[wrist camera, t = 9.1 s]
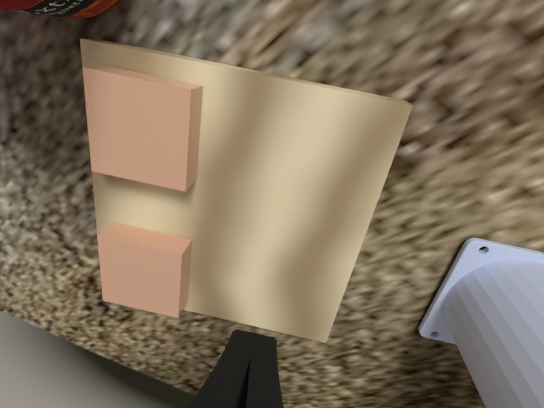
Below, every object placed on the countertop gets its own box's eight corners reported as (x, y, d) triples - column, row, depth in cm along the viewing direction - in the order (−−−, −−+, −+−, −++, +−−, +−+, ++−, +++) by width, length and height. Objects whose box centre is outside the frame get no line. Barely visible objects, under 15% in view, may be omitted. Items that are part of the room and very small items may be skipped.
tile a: (191, 89, 14) (82, 67, 14) (185, 191, 16) (91, 171, 16) (203, 85, 15) (104, 65, 16) (196, 179, 18) (110, 161, 18)
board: (404, 100, 16) (412, 105, 15) (325, 324, 23) (325, 342, 22) (100, 39, 17) (79, 38, 15) (115, 276, 24) (102, 290, 22)
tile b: (182, 255, 18) (97, 235, 18) (178, 318, 20) (103, 300, 20) (192, 239, 20) (113, 221, 20) (187, 299, 22) (117, 283, 22)
